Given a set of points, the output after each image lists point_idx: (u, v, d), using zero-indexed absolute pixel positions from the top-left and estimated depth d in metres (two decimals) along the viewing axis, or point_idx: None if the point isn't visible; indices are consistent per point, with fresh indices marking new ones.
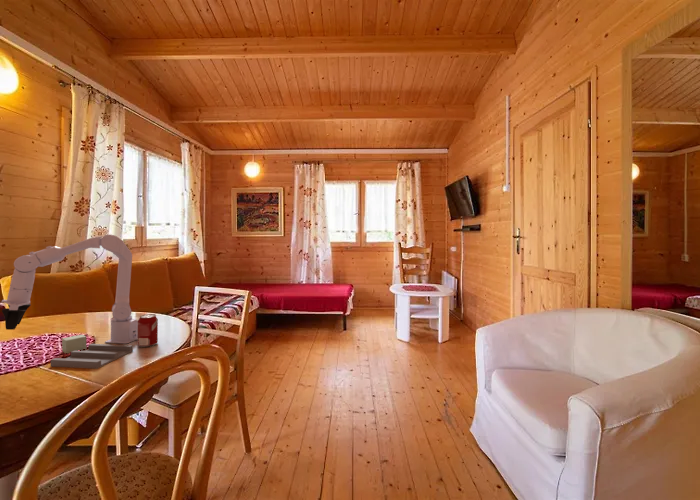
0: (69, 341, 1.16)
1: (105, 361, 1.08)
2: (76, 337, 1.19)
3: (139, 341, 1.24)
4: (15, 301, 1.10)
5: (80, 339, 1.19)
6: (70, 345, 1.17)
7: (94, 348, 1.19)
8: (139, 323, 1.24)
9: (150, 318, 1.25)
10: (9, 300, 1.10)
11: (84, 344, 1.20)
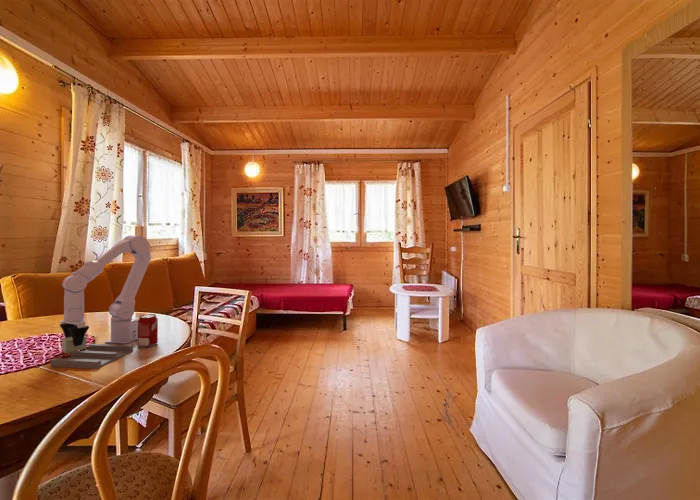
0: (69, 341, 1.16)
1: (105, 361, 1.08)
2: None
3: (139, 341, 1.24)
4: (75, 320, 1.17)
5: None
6: (70, 345, 1.17)
7: (94, 348, 1.19)
8: (139, 323, 1.24)
9: (150, 318, 1.25)
10: (69, 320, 1.16)
11: (84, 344, 1.20)
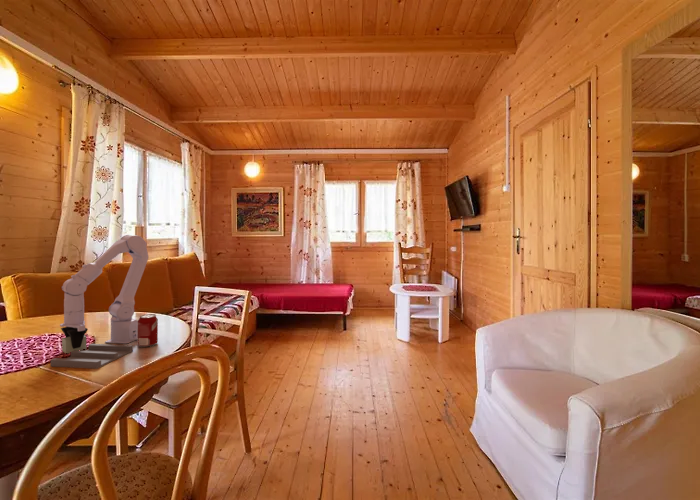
0: (69, 341, 1.16)
1: (105, 361, 1.08)
2: None
3: (139, 341, 1.24)
4: (76, 323, 1.17)
5: None
6: (70, 345, 1.17)
7: (94, 348, 1.19)
8: (139, 323, 1.24)
9: (150, 318, 1.25)
10: (69, 323, 1.16)
11: (84, 344, 1.20)
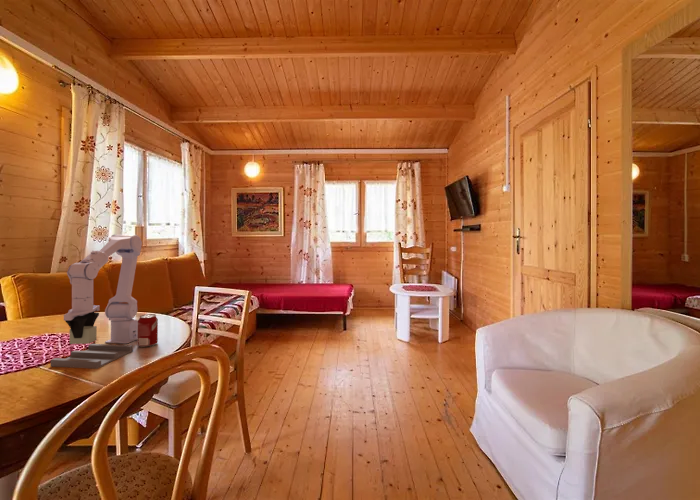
0: None
1: (105, 361, 1.08)
2: (83, 328, 1.10)
3: (139, 341, 1.24)
4: (75, 310, 1.07)
5: (83, 331, 1.08)
6: None
7: (94, 348, 1.19)
8: (139, 323, 1.24)
9: (150, 318, 1.25)
10: (72, 310, 1.08)
11: (86, 337, 1.09)
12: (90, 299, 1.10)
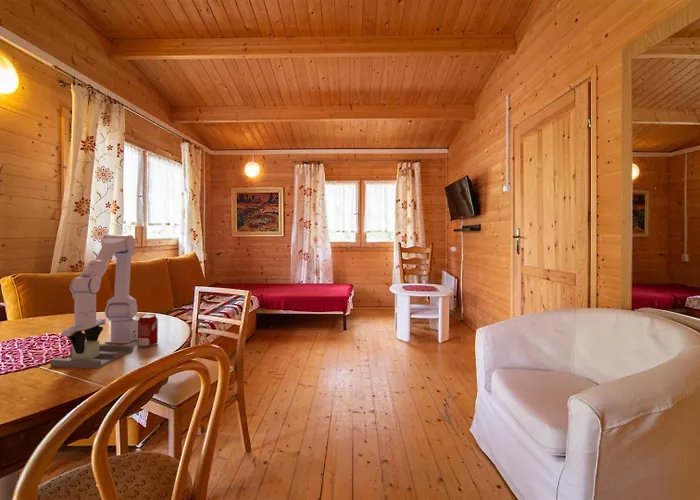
0: None
1: (105, 361, 1.08)
2: (85, 343, 1.08)
3: (139, 341, 1.24)
4: (76, 325, 1.05)
5: (84, 346, 1.06)
6: None
7: None
8: (139, 323, 1.24)
9: (150, 318, 1.25)
10: (74, 324, 1.06)
11: (87, 353, 1.06)
12: (91, 314, 1.07)
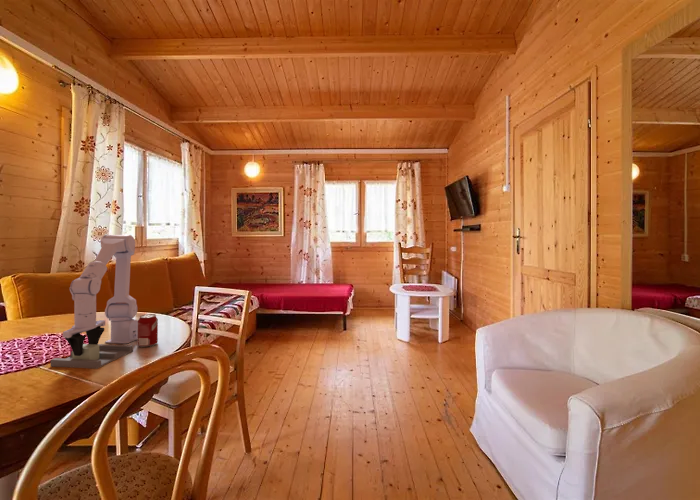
0: None
1: (105, 361, 1.08)
2: (85, 346, 1.08)
3: (139, 341, 1.24)
4: (76, 327, 1.05)
5: (84, 350, 1.06)
6: None
7: None
8: (139, 323, 1.24)
9: (150, 318, 1.25)
10: (74, 326, 1.06)
11: (87, 357, 1.07)
12: (91, 315, 1.07)
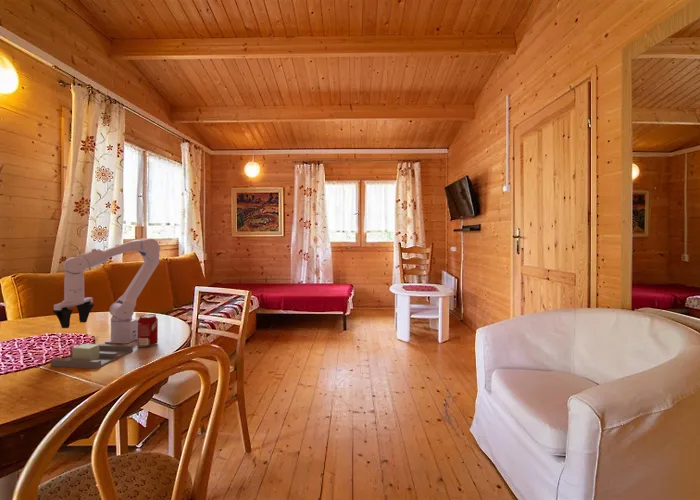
0: (75, 349, 1.07)
1: (105, 361, 1.08)
2: (85, 346, 1.08)
3: (139, 341, 1.24)
4: (66, 301, 1.16)
5: (84, 350, 1.06)
6: (75, 354, 1.07)
7: None
8: (139, 323, 1.24)
9: (150, 318, 1.25)
10: (64, 300, 1.17)
11: (87, 357, 1.07)
12: (80, 291, 1.19)
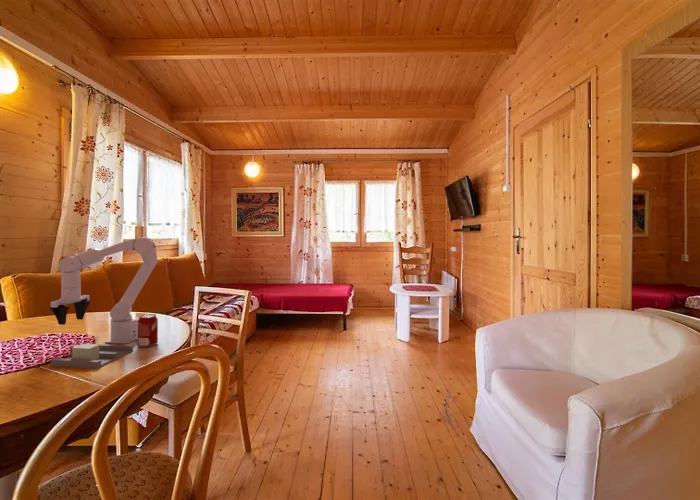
0: (75, 349, 1.07)
1: (105, 361, 1.08)
2: (85, 346, 1.08)
3: (139, 341, 1.24)
4: (63, 299, 1.20)
5: (84, 350, 1.06)
6: (75, 354, 1.07)
7: None
8: (139, 323, 1.24)
9: (150, 318, 1.25)
10: (61, 298, 1.21)
11: (87, 357, 1.07)
12: (76, 289, 1.23)
